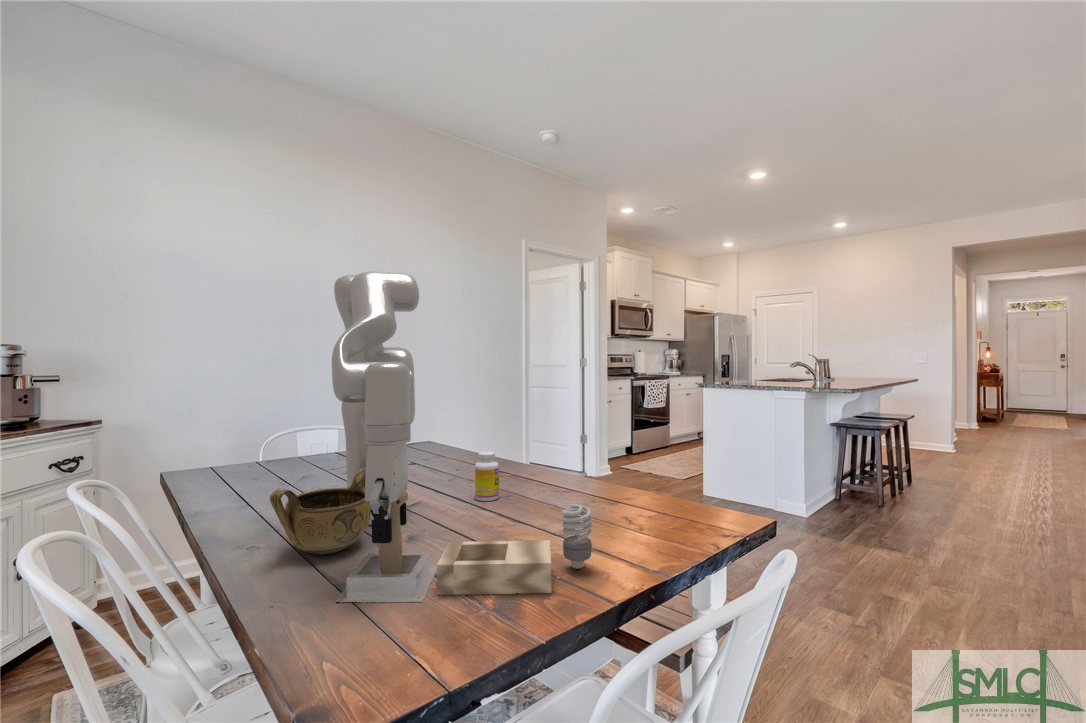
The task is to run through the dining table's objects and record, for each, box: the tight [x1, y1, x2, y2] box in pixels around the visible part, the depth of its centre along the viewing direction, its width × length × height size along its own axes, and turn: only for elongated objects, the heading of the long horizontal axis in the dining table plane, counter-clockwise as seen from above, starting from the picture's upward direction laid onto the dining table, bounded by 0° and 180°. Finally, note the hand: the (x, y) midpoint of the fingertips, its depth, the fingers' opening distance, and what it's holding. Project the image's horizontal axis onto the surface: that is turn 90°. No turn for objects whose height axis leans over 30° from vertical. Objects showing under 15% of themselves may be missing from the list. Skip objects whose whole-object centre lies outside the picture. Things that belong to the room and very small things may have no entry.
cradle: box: [335, 551, 437, 604], centre depth 87 cm, size 14×13×4 cm
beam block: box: [436, 539, 552, 596], centre depth 88 cm, size 19×10×5 cm, turn 90°
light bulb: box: [561, 503, 593, 570], centre depth 92 cm, size 6×6×12 cm
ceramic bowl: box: [269, 468, 371, 556], centre depth 104 cm, size 22×17×15 cm
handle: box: [378, 491, 409, 574], centre depth 88 cm, size 5×6×15 cm
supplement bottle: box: [474, 451, 500, 502], centre depth 140 cm, size 7×7×13 cm
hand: (390, 532), depth 87 cm, fingers open, 8 cm apart
